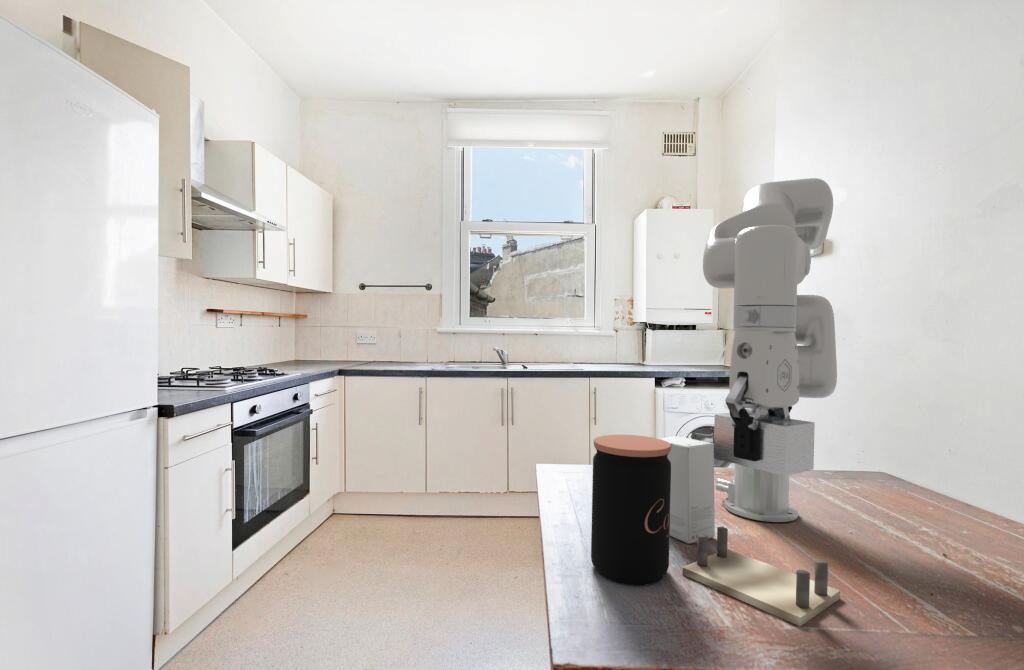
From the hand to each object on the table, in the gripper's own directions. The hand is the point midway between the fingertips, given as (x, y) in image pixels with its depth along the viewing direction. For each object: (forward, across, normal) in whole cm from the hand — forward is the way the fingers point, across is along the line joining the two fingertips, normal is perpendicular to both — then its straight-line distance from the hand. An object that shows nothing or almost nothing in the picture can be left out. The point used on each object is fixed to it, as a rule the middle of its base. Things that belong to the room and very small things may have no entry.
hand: (761, 454), depth 69 cm
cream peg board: (+18, 0, 0) cm, 18 cm away
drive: (+1, 0, 0) cm, 1 cm away
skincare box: (+18, +7, +17) cm, 26 cm away
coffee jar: (+18, -11, +13) cm, 24 cm away
